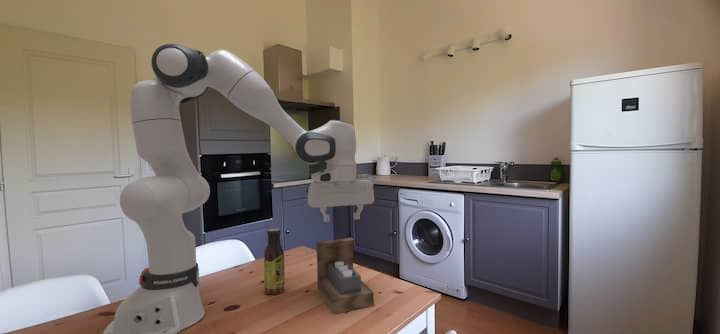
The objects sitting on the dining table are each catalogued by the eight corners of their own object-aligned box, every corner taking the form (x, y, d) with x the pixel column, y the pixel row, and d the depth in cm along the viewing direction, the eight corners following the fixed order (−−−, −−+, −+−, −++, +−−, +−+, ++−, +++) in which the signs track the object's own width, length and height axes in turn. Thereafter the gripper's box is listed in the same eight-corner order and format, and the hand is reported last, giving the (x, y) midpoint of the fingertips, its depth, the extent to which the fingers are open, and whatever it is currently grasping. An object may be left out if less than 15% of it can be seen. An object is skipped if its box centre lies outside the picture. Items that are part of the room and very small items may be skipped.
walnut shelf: (333, 314, 89) (332, 258, 88) (317, 289, 105) (316, 241, 105) (373, 306, 93) (372, 252, 92) (352, 283, 110) (351, 237, 109)
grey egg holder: (341, 295, 91) (340, 276, 91) (327, 277, 104) (327, 261, 104) (361, 291, 93) (360, 272, 93) (345, 274, 106) (345, 258, 106)
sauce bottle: (279, 296, 101) (277, 232, 100) (261, 294, 102) (259, 232, 101) (288, 287, 107) (286, 227, 106) (270, 286, 108) (269, 227, 107)
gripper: (369, 173, 104) (369, 215, 105) (306, 175, 97) (306, 221, 97) (377, 174, 98) (377, 219, 99) (310, 176, 91) (311, 225, 92)
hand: (341, 220), depth 98 cm, fingers open, 8 cm apart
